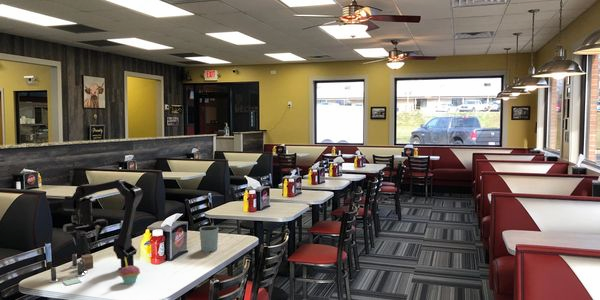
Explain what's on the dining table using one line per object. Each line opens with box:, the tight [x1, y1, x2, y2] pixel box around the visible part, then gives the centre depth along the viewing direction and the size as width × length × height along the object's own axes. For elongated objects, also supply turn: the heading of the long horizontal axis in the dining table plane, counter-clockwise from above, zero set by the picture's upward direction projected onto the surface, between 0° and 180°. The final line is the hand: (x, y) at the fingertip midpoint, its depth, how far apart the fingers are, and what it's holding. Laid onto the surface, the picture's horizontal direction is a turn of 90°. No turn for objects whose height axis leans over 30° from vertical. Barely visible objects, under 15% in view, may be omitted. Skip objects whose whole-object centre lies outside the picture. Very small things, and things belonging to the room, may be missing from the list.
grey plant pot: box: [199, 225, 219, 253], centre depth 251 cm, size 10×10×12 cm
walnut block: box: [80, 253, 94, 270], centre depth 224 cm, size 4×4×6 cm
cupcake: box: [118, 258, 141, 285], centre depth 203 cm, size 9×8×12 cm
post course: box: [48, 253, 88, 284], centre depth 216 cm, size 19×17×6 cm
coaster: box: [62, 277, 82, 286], centre depth 205 cm, size 6×6×1 cm
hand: (86, 243), depth 224 cm, fingers open, 9 cm apart
